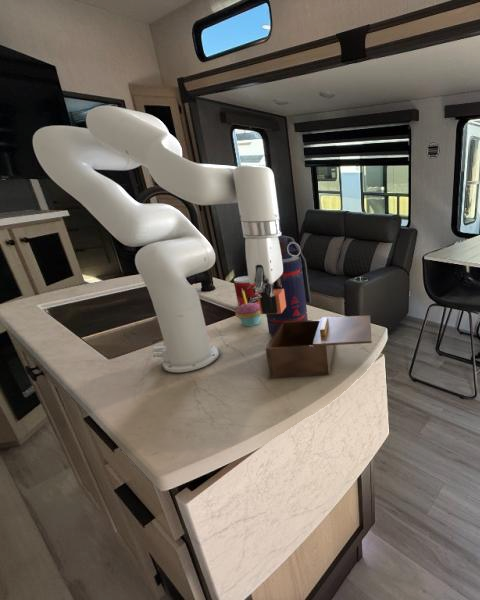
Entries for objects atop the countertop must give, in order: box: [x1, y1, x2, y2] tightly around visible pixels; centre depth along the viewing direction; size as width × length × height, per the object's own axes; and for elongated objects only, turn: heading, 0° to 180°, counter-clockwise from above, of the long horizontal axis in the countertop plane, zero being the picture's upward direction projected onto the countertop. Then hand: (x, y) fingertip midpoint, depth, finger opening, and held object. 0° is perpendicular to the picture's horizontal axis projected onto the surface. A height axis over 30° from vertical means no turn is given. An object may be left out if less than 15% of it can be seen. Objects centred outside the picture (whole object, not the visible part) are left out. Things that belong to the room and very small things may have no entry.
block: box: [258, 289, 286, 315], centre depth 73 cm, size 4×4×4 cm
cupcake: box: [235, 289, 262, 327], centre depth 105 cm, size 9×8×12 cm
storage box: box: [265, 319, 335, 379], centre depth 84 cm, size 14×16×8 cm
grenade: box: [264, 235, 312, 337], centre depth 96 cm, size 14×12×30 cm
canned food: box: [233, 275, 259, 307], centre depth 120 cm, size 8×8×11 cm
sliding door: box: [312, 314, 373, 346], centre depth 83 cm, size 14×16×2 cm
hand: (273, 308), depth 73 cm, fingers closed on block, 4 cm apart
